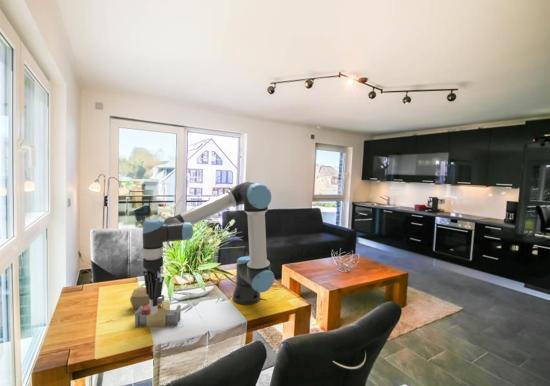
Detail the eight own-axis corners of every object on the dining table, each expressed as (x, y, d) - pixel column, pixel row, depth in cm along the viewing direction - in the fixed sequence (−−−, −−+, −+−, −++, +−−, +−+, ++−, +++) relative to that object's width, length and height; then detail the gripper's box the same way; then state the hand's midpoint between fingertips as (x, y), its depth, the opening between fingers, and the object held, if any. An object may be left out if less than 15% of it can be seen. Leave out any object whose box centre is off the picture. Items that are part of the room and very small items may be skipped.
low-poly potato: (122, 312, 134) (133, 307, 128) (124, 288, 139) (135, 283, 133) (152, 310, 145) (164, 306, 139) (153, 288, 150) (164, 283, 144)
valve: (180, 317, 130) (180, 297, 130) (177, 326, 123) (177, 304, 123) (140, 318, 128) (140, 298, 128) (134, 327, 121) (134, 305, 121)
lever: (156, 298, 128) (156, 293, 127) (166, 299, 127) (166, 294, 127) (138, 315, 113) (138, 309, 113) (150, 315, 113) (150, 310, 113)
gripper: (170, 258, 112) (170, 314, 114) (154, 252, 120) (154, 304, 122) (152, 263, 106) (152, 321, 108) (136, 255, 114) (137, 310, 116)
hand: (153, 312), depth 115 cm, fingers closed
